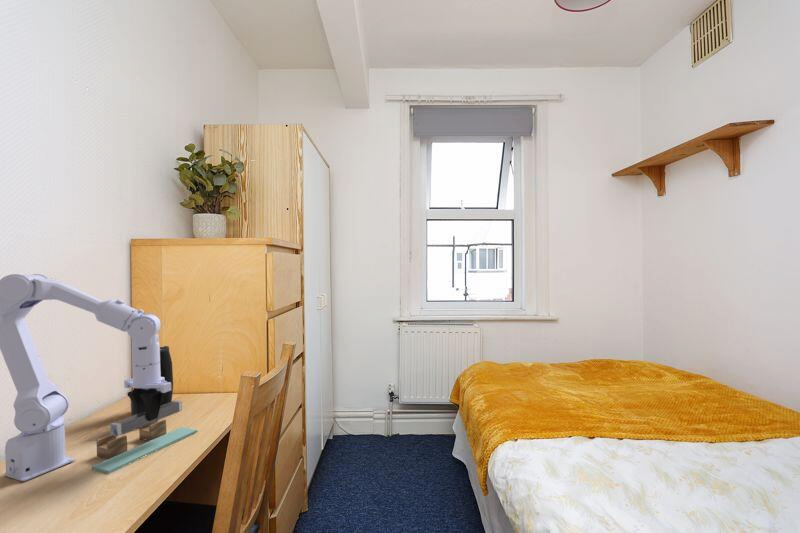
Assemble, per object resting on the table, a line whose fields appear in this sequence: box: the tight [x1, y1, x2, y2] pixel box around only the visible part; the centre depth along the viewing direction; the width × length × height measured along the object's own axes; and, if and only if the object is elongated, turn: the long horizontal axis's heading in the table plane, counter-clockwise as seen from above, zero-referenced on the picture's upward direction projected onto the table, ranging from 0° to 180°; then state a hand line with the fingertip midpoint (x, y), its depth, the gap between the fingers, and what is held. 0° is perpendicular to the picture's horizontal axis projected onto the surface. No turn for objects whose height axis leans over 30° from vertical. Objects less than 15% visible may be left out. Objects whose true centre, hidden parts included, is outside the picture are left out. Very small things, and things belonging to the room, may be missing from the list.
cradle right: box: [138, 419, 167, 441], centre depth 101 cm, size 4×5×4 cm
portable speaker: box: [160, 345, 174, 405], centre depth 123 cm, size 9×9×20 cm
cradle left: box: [96, 434, 128, 460], centre depth 92 cm, size 4×5×4 cm
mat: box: [91, 426, 198, 474], centre depth 95 cm, size 22×6×1 cm, turn 157°
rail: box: [109, 399, 183, 437], centre depth 95 cm, size 16×2×2 cm, turn 157°
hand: (148, 418), depth 95 cm, fingers closed on rail, 2 cm apart
